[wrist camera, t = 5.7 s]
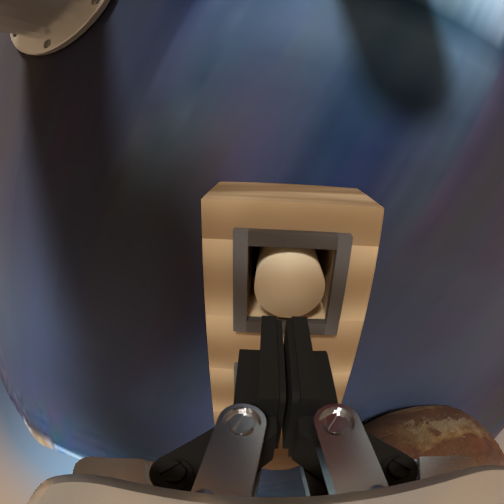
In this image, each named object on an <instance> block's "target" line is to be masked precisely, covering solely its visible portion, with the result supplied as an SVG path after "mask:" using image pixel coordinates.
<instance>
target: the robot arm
mask: <svg viewBox="0 0 504 504" xmlns="http://www.w3.org/2000/svg"><path fill="white" fill-rule="evenodd" d="M109 2H110V0H0V31H1V32H6V33H10V36H11V40H12V42H13V44H14V46H15V47H16V48H17V49H18V50H19V51H20V52H23V53H25V54H29V55H35V56H40V55H47V54H51V53H54V52H56V51H58V50H60V49H62V48H64V47H66V46H67V45H69V44H70V43H72V42H73V41H75V40H76V39H77V38H78V37H80V36H81V35H82V34H83V33H84V32H85V31H87V30H88V28H89V27H90V26H91V25H92V24H93V23H94V22H95V21H96V20H97V19H98V17H99V16H100V15H101V14H102V12H103V11H104V10H105V8H106V7H107V5H108V3H109ZM281 429H282V446H283V449H288V457H292V460H293V461H295V462H296V463H297V464H299V465H300V473H301V477H302V481H303V485H304V489H305V493H306V497H256V493H257V488H258V484H259V480H260V475H261V470H262V467H264V466H265V465H266V464H268V463H269V462H270V461H272V460H273V456H274V449H278V447H279V441H280V435H281ZM27 504H504V466H499V465H480V466H478V463H477V461H476V460H475V459H474V458H473V457H471V456H469V455H454V456H429V457H419V458H418V459H413V458H411V457H410V456H409V455H407V454H405V453H403V452H401V451H399V450H398V449H396V448H394V447H392V446H390V445H389V444H387V443H385V442H383V441H382V440H380V439H378V438H376V437H375V436H373V435H371V434H369V433H368V432H366V431H365V429H364V427H363V425H362V422H361V420H360V418H359V416H358V414H357V413H356V411H354V410H353V409H352V408H351V407H348V406H346V405H343V404H338V400H337V395H336V390H335V385H334V381H333V376H332V371H331V367H330V362H329V358H328V354H327V351H313V348H312V342H311V337H310V331H309V326H308V320H307V317H304V316H292V318H291V320H286V324H285V334H284V344H283V330H282V320H276V316H263V315H262V317H261V338H260V350H248V349H240V350H239V357H238V366H237V375H236V384H235V393H234V403H233V405H231V406H228V407H226V408H225V409H224V410H223V411H221V413H220V414H219V416H218V418H217V421H216V424H215V427H214V428H212V429H210V430H209V431H207V432H205V433H204V434H202V435H200V436H199V437H197V438H195V439H193V440H192V441H190V442H188V443H186V444H185V445H183V446H181V447H179V448H177V449H175V450H174V451H172V452H170V453H168V454H166V455H164V456H162V457H160V458H159V459H158V460H156V461H146V460H145V459H125V458H104V457H85V458H83V459H81V460H79V461H78V462H77V463H76V464H75V467H74V470H73V474H68V475H61V476H55V477H51V478H49V479H47V480H45V481H44V482H43V483H42V484H40V485H39V487H38V488H37V489H36V490H35V492H34V493H33V495H32V496H31V498H30V500H29V502H28V503H27Z"/></svg>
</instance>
